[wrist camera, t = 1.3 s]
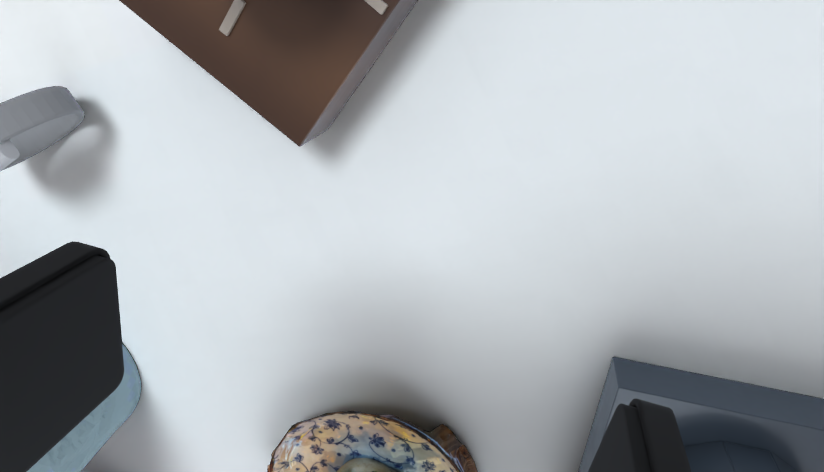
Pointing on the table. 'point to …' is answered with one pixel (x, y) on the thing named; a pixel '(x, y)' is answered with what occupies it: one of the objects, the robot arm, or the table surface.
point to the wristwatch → (36, 123)
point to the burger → (368, 446)
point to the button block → (719, 419)
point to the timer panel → (282, 50)
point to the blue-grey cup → (95, 426)
